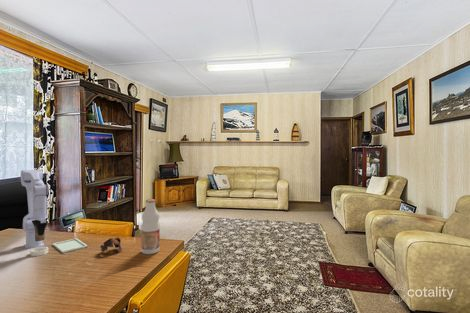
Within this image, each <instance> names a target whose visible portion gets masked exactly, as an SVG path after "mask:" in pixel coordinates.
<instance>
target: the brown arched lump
mask: <svg viewBox="0 0 470 313" xmlns="http://www.w3.org/2000/svg"><path fill="white" fill-rule="evenodd" d="M121 240H122V239H121V238H119V237H115V238H114V237H111V238H108V239H107V240H105V241H104V242H103V244H101V245H100V246H99V247H100V252H105V251H108V248H113V247H114V248H117V249H116V250H117V252H118V254H120V253H121V251H122V247H121V242H122V241H121Z"/></svg>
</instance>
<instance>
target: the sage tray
mask: <svg viewBox="0 0 470 313" xmlns="http://www.w3.org/2000/svg"><path fill="white" fill-rule="evenodd" d="M52 246H53V247H54V248H55V249H56V250H58V251H59V252H60V253H62V254H66V253H70V252H76V251H78V250H82V249H86V248H89V247H88V244H86V243H85V242H83V241H82V240H80V239H79V238H72V239H67V240H62V241H58V242H54V243H52Z"/></svg>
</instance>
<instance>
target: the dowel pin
mask: <svg viewBox="0 0 470 313" xmlns="http://www.w3.org/2000/svg"><path fill="white" fill-rule="evenodd" d="M45 232H46V231H45ZM45 232H44V235H41V236H38V232H37V228H36V225H35V241H42V242H43V241H44V240H45V238H46V237H45V236H46V235H45V234H46V233H45Z"/></svg>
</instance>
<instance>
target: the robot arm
mask: <svg viewBox="0 0 470 313" xmlns="http://www.w3.org/2000/svg"><path fill="white" fill-rule="evenodd" d="M43 178H44V171H43V170H42V169H23V170H21V171H20V183H21V186H22V187H25V189H26V195H27V207H28V208H27V209H28V213H27V214H26V215H24V217H23V219H22V230H23V231H24V232H25V243H24V244H23V246H24V247H25V248H26V249H27V250H30V249H34V248H39V247H45V243H43V240H42V241H35V225H36V228H37V232H38V236H41V235H44V232H46V231H45V230H46V228H47V225H48V224H49V221H48V220H46V219H47V218H48V215H47V212H48V211H47V210H48V208H47V204H48V202H47V200H48V197H47V196H48V195H49V187H48V184H45V183H44V181H43Z"/></svg>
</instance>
